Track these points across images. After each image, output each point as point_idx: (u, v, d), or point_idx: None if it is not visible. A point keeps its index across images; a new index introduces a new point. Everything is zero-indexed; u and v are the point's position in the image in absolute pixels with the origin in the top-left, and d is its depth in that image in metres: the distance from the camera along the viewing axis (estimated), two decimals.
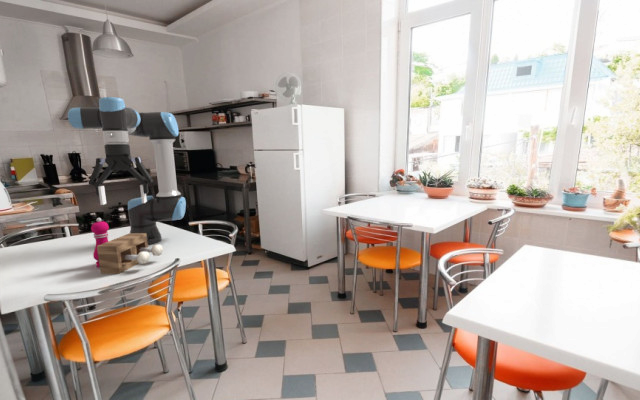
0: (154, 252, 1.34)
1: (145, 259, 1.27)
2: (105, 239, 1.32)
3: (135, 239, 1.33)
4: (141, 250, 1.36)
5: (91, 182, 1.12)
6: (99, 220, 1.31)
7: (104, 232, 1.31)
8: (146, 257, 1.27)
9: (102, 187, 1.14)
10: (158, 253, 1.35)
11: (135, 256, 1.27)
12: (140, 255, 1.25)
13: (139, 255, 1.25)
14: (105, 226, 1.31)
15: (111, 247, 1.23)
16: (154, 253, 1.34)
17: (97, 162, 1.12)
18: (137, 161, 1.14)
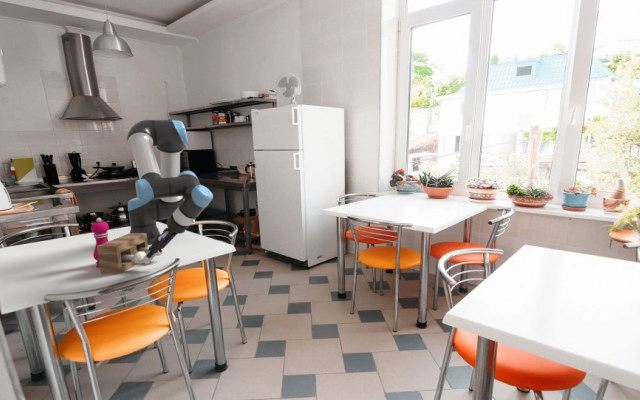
0: None
1: None
2: (105, 239, 1.32)
3: (135, 239, 1.33)
4: (141, 250, 1.36)
5: (155, 252, 1.22)
6: (99, 220, 1.31)
7: (104, 232, 1.31)
8: (143, 257, 1.28)
9: None
10: (158, 253, 1.35)
11: (132, 256, 1.27)
12: (137, 255, 1.25)
13: (136, 255, 1.25)
14: (105, 226, 1.31)
15: (111, 247, 1.23)
16: None
17: (162, 241, 1.19)
18: None
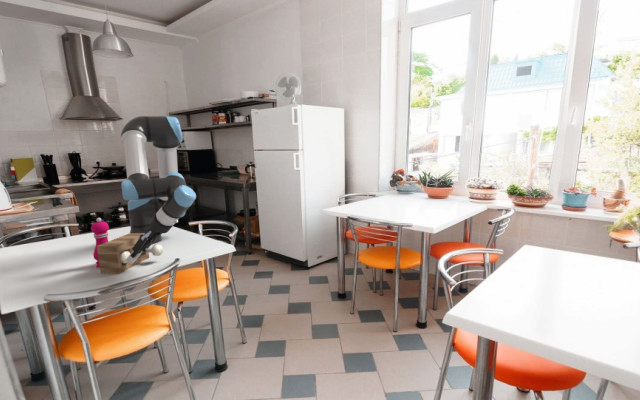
0: (154, 252, 1.34)
1: None
2: (105, 239, 1.32)
3: (135, 239, 1.33)
4: None
5: (138, 251, 1.23)
6: (99, 220, 1.31)
7: (104, 232, 1.31)
8: (127, 257, 1.28)
9: None
10: (158, 253, 1.35)
11: None
12: (121, 255, 1.26)
13: None
14: (105, 226, 1.31)
15: (111, 247, 1.23)
16: (154, 253, 1.34)
17: (145, 240, 1.20)
18: None
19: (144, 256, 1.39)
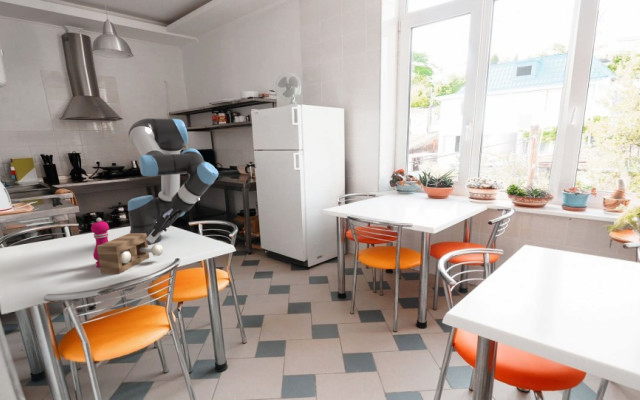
0: (154, 252, 1.34)
1: (126, 259, 1.28)
2: (105, 239, 1.32)
3: (135, 239, 1.33)
4: (141, 250, 1.36)
5: (159, 230, 1.21)
6: (99, 220, 1.31)
7: (104, 232, 1.31)
8: (128, 257, 1.28)
9: None
10: (158, 253, 1.35)
11: None
12: (121, 255, 1.26)
13: None
14: (105, 226, 1.31)
15: (111, 247, 1.23)
16: (154, 253, 1.34)
17: (167, 218, 1.17)
18: (182, 212, 1.28)
19: (144, 256, 1.39)
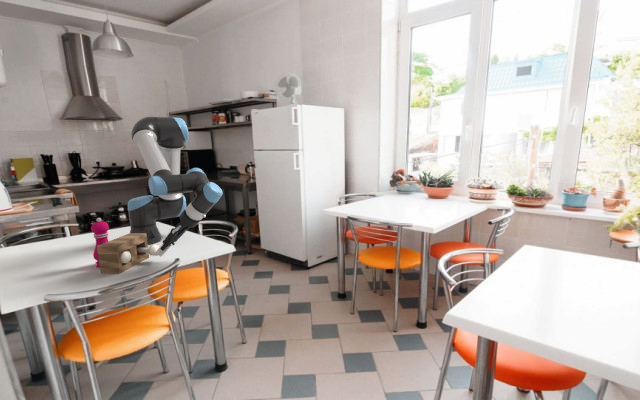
0: (151, 252, 1.34)
1: (126, 259, 1.28)
2: (105, 239, 1.32)
3: (135, 239, 1.33)
4: (138, 250, 1.36)
5: (168, 244, 1.31)
6: (99, 220, 1.31)
7: (104, 232, 1.31)
8: (128, 257, 1.28)
9: None
10: (155, 253, 1.35)
11: None
12: (121, 255, 1.26)
13: None
14: (105, 226, 1.31)
15: (111, 247, 1.23)
16: (151, 253, 1.34)
17: (176, 234, 1.28)
18: None
19: (144, 256, 1.39)
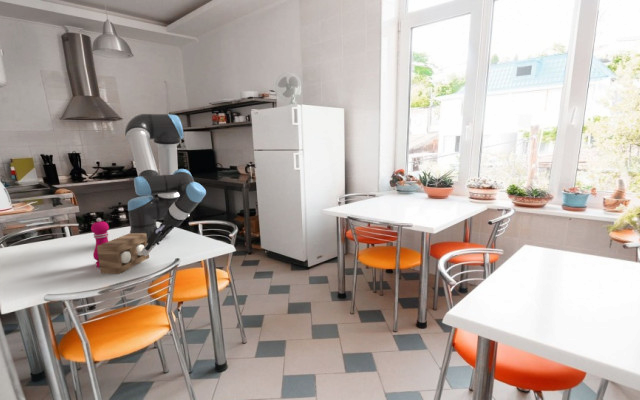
0: None
1: (126, 259, 1.28)
2: (105, 239, 1.32)
3: (135, 239, 1.33)
4: None
5: (152, 244, 1.32)
6: (99, 220, 1.31)
7: (104, 232, 1.31)
8: (128, 257, 1.28)
9: None
10: (140, 253, 1.36)
11: None
12: (121, 255, 1.26)
13: None
14: (105, 226, 1.31)
15: (111, 247, 1.23)
16: None
17: (159, 233, 1.28)
18: None
19: (144, 256, 1.39)
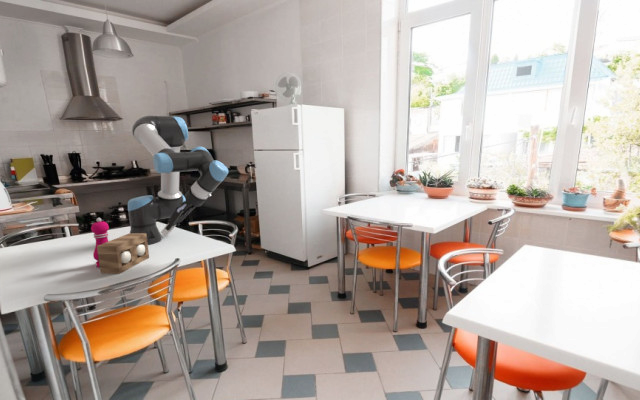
0: None
1: (126, 259, 1.28)
2: (105, 239, 1.32)
3: (135, 239, 1.33)
4: None
5: (173, 224, 1.30)
6: (99, 220, 1.31)
7: (104, 232, 1.31)
8: (128, 257, 1.28)
9: None
10: (140, 253, 1.36)
11: None
12: (121, 255, 1.26)
13: None
14: (105, 226, 1.31)
15: (111, 247, 1.23)
16: None
17: (181, 213, 1.26)
18: (194, 207, 1.36)
19: (144, 256, 1.39)
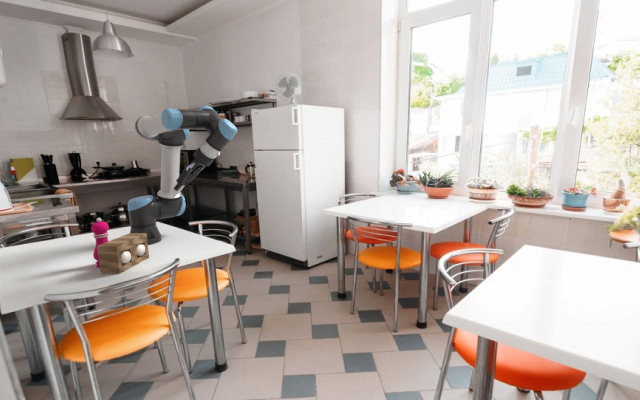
0: None
1: (126, 259, 1.28)
2: (105, 239, 1.32)
3: (135, 239, 1.33)
4: None
5: (182, 183, 1.29)
6: (99, 220, 1.31)
7: (104, 232, 1.31)
8: (128, 257, 1.28)
9: None
10: (140, 253, 1.36)
11: None
12: (121, 255, 1.26)
13: None
14: (105, 226, 1.31)
15: (111, 247, 1.23)
16: None
17: (190, 171, 1.26)
18: (202, 169, 1.36)
19: (144, 256, 1.39)
